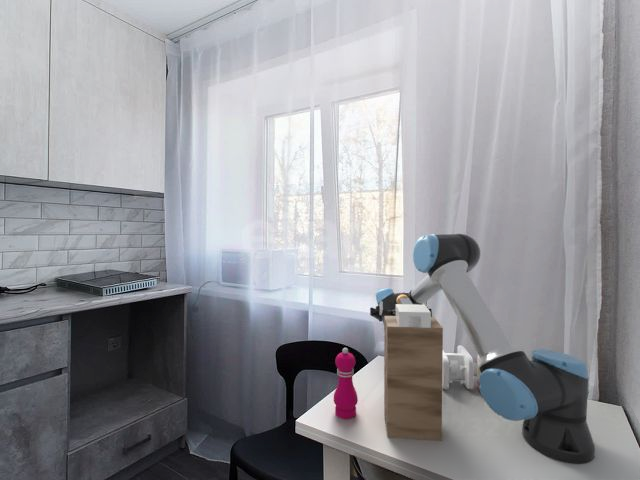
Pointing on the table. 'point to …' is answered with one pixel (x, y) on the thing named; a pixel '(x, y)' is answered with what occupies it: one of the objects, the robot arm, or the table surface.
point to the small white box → (412, 313)
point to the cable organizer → (457, 368)
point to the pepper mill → (345, 386)
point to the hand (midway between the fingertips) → (403, 305)
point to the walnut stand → (413, 380)
